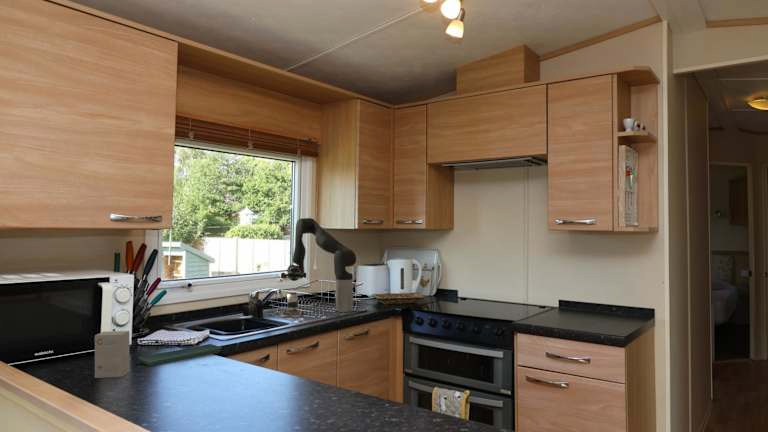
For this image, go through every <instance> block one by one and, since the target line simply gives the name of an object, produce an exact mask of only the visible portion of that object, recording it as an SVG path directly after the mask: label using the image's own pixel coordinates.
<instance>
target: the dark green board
mask: <svg viewBox="0 0 768 432" xmlns="http://www.w3.org/2000/svg"><path fill="white" fill-rule="evenodd" d="M221 350H222V346H219V345H215V344H212V343H207V344H203V345H196V346H192V347H187V348H186V347H185V348H182V349H176V350H170V351H165V352H159V353H155V354H154V353H153V354H149V355H144V356H139V357H138V359H139V361H140V362H141V363H142V364H144V365H146V366H148V367H153V366H158V365H164V364H169V363H174V362H179V361H185V360H189V359H195V358H201V357H204V356H205V357H206V356H210V355H211V356H212V355H216V354H217V355H218V354H219V353H220V352H221Z"/></svg>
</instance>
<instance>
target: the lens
mask: <svg viewBox="0 0 768 432" xmlns="http://www.w3.org/2000/svg"><path fill="white" fill-rule="evenodd" d="M286 298H287V299H286V300H287V301H286V310H299V308H298V307H299V306H298V305H299V304H298V303H299V301H298V293H297V292H288V293H287V295H286Z"/></svg>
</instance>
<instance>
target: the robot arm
mask: <svg viewBox="0 0 768 432" xmlns="http://www.w3.org/2000/svg"><path fill="white" fill-rule="evenodd" d="M305 234H312V235H314V237H315V243H316V245H317V246H318V247H319V248H320V249H321V250H323V251H325V252H327V253H328V254H333V266H334V269H333V270H334V275H335V312H337V311H338V312H339V313H349V312H354V292H353V291H354V288H353V287H354V286H353V285H354V284H353V283H354V282H353V281H354V277H353V273H350V272H348V271H347V269H346V268H347V267H353V266H354V265H355V264H356V262H357V256H356V253H355V252H354V251H353V250H352V249H351V248H349V247H347V246H345V245H344V244H343V243H341V242H340V241H338V240H337V239H336V238H335V237H334V236H332V235H331V234H330V233H329V232H327V231H326V230H325V229H324V228H322V227H321V226H320V224H319V223H318V222H317V220H315V219H313V218H311V217H307V218H306V217H305V218H303V217H302V218H299V219H297V221H296V223H295V234H294V235H295V239H294V240H295V241H294V251H293V256H292V263H293V264H290V265H288V267H287V272H286V273H285V272H281V273H280V278H281V279H287V280H288V279H289V280H290V281H293V282H296V281H298V280H299V279H303V278H305V279H306V278H307V272H305V257H306V252H307V251H306V247H305V244H304V242H303V241H304V240H303V236H304V235H305Z"/></svg>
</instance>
